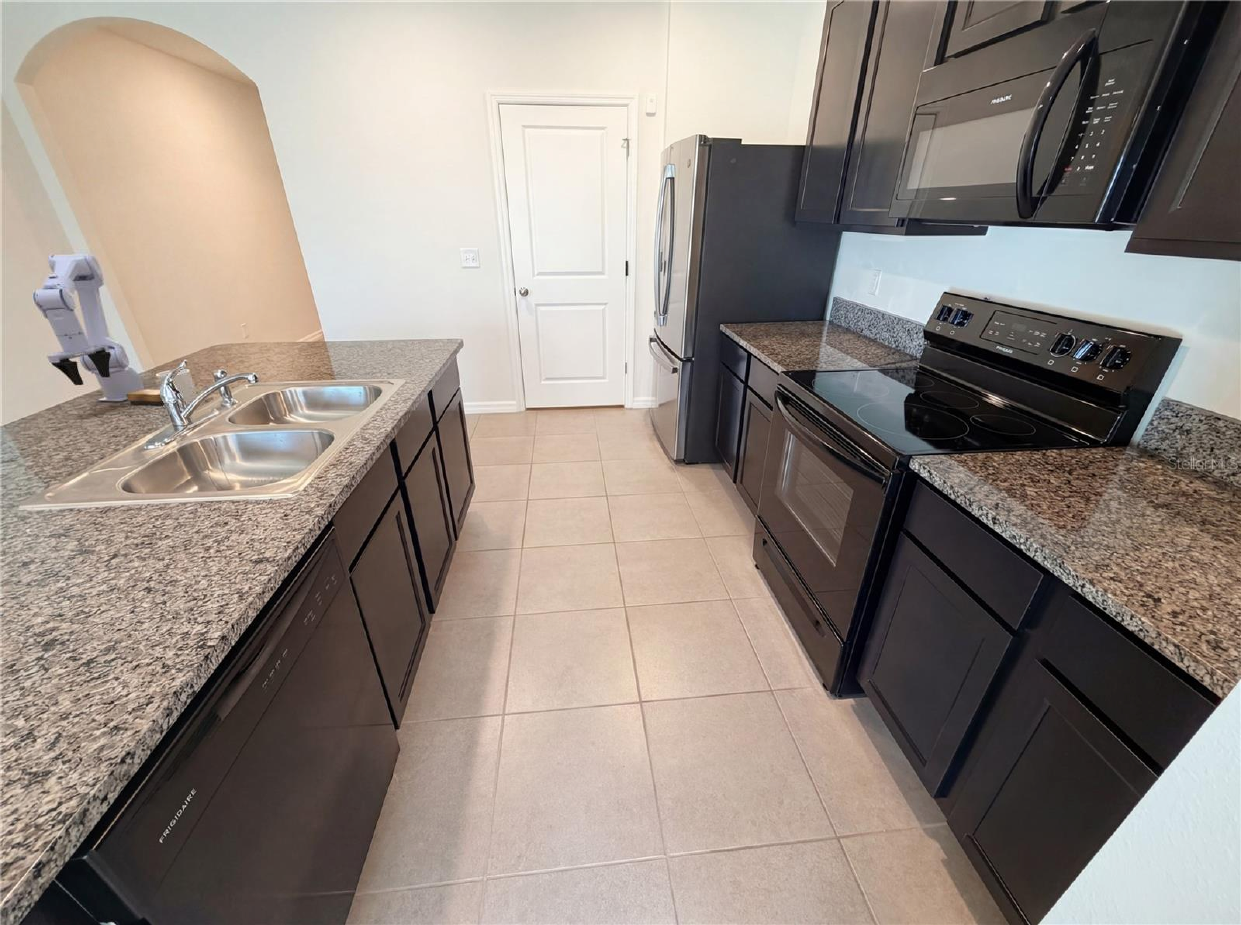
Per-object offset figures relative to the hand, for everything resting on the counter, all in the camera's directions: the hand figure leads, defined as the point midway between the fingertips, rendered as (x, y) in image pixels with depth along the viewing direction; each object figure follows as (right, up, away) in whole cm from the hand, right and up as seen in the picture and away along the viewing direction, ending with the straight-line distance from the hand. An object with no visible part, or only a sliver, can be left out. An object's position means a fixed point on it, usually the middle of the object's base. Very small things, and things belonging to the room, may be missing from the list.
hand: (92, 380), depth 147 cm
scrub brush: (+8, -5, +11) cm, 14 cm away
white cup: (+19, -6, +10) cm, 22 cm away
